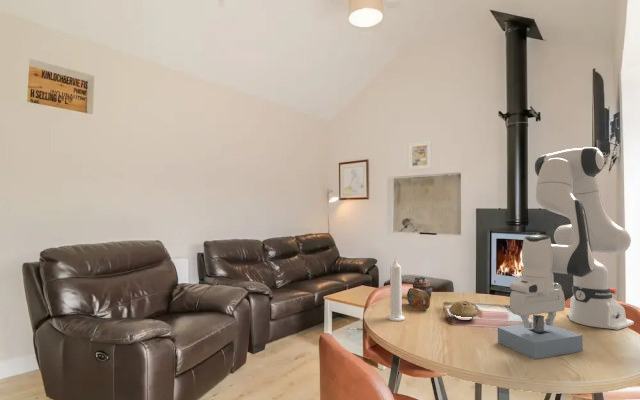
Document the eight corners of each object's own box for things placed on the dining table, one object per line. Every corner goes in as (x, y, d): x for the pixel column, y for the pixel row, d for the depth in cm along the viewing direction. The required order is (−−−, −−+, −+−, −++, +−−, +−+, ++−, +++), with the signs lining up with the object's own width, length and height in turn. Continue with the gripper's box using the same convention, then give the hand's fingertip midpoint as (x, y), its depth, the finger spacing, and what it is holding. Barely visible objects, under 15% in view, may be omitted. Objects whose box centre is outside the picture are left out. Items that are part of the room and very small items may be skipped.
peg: (538, 344, 115) (537, 314, 115) (546, 347, 112) (545, 316, 112) (531, 345, 114) (530, 315, 114) (539, 348, 111) (539, 317, 111)
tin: (406, 303, 165) (406, 286, 165) (412, 303, 166) (412, 285, 166) (425, 312, 150) (425, 293, 150) (431, 312, 151) (431, 292, 151)
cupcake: (423, 300, 170) (423, 280, 170) (408, 296, 178) (408, 277, 178) (436, 297, 175) (436, 278, 175) (421, 294, 183) (421, 275, 184)
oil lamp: (477, 314, 147) (477, 296, 147) (478, 325, 134) (477, 304, 134) (450, 311, 152) (450, 293, 152) (448, 321, 138) (447, 301, 138)
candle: (392, 314, 147) (392, 256, 148) (407, 318, 142) (407, 257, 143) (384, 318, 141) (384, 258, 142) (400, 322, 137) (399, 259, 138)
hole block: (542, 335, 123) (542, 321, 123) (582, 351, 109) (582, 335, 109) (497, 342, 117) (497, 327, 117) (534, 359, 103) (534, 342, 103)
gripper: (552, 280, 120) (553, 320, 119) (506, 284, 113) (506, 326, 113) (570, 284, 114) (571, 326, 113) (522, 288, 107) (523, 332, 107)
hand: (538, 326), depth 113 cm, fingers open, 8 cm apart
